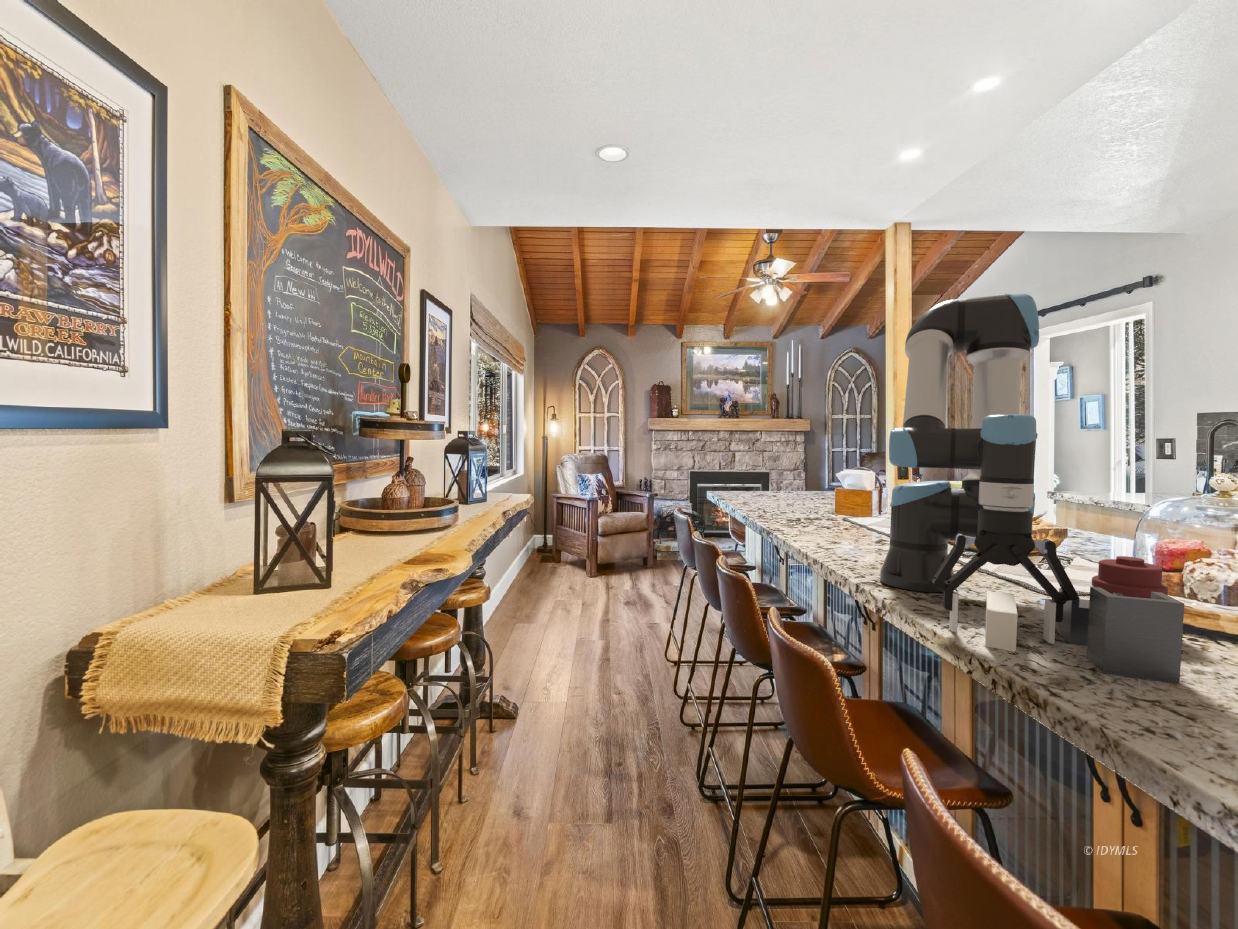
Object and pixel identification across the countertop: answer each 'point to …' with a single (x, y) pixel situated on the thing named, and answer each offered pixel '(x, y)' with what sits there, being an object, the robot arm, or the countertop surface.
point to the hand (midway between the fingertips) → (999, 635)
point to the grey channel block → (1075, 620)
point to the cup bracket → (1135, 635)
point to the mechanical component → (1129, 577)
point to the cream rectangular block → (1001, 621)
